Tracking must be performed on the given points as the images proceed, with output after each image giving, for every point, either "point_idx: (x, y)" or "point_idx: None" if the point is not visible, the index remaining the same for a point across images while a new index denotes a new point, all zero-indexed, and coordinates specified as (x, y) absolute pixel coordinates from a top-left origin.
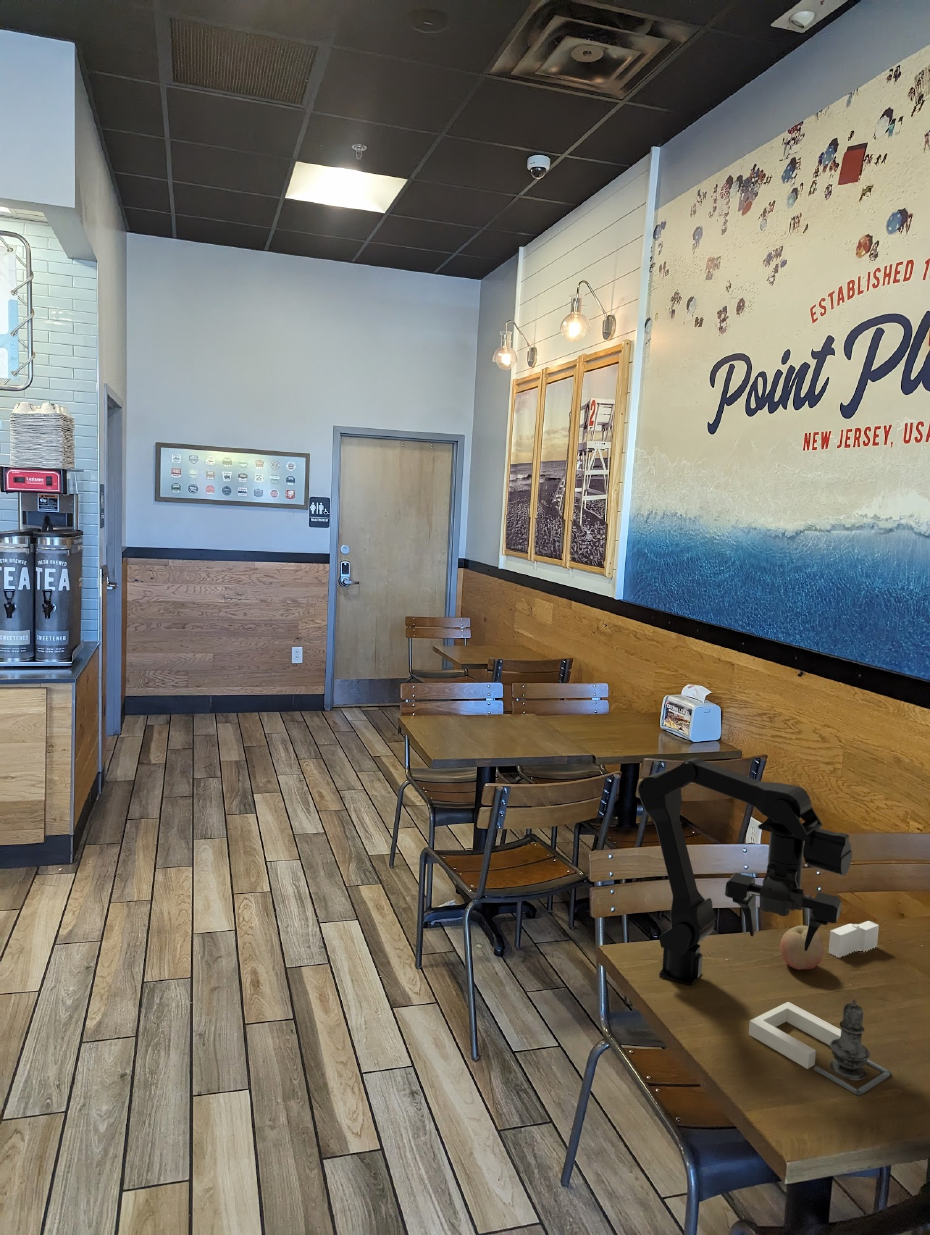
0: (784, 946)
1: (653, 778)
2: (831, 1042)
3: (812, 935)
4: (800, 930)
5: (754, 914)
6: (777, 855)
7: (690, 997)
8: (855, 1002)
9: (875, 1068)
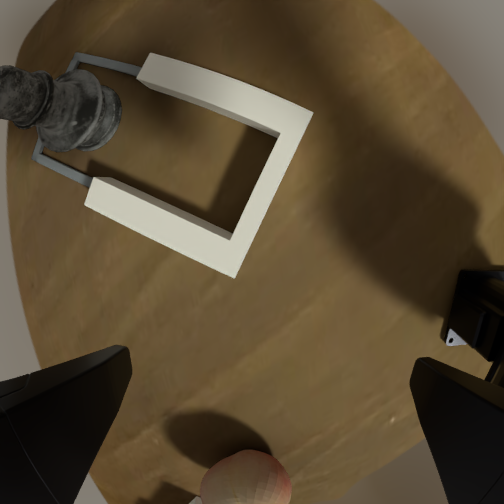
0: (280, 481)
1: None
2: (99, 105)
3: (28, 377)
4: None
5: (454, 467)
6: None
7: (455, 220)
8: None
9: (53, 159)
